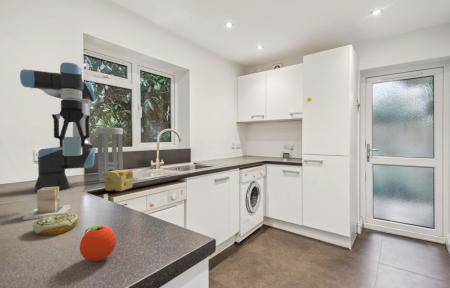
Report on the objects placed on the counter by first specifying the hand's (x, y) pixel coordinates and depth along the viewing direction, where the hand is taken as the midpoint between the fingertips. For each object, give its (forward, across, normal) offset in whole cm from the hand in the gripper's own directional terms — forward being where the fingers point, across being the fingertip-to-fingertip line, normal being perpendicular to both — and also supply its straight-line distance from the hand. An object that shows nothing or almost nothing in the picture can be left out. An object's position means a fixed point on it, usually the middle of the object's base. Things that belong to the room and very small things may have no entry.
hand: (72, 154), depth 93 cm
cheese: (+21, +17, +20) cm, 33 cm away
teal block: (0, 0, 0) cm, 0 cm away
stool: (+21, +11, +52) cm, 57 cm away
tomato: (+20, +15, -57) cm, 63 cm away
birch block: (+19, -5, -14) cm, 24 cm away
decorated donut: (+21, +2, -33) cm, 39 cm away
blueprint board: (+20, -5, -14) cm, 25 cm away
